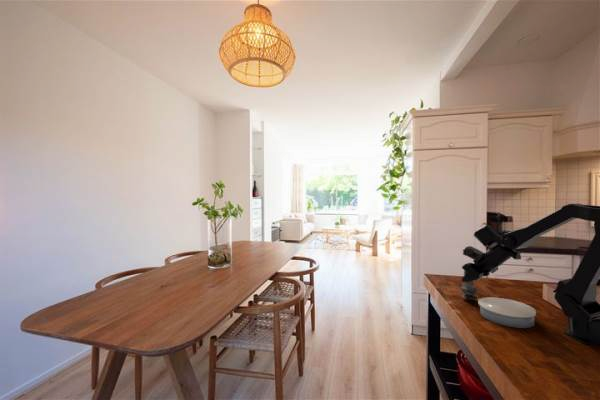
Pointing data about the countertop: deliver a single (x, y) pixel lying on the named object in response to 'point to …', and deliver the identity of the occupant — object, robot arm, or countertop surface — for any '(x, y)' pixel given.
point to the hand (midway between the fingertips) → (464, 279)
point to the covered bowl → (507, 312)
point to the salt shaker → (469, 290)
